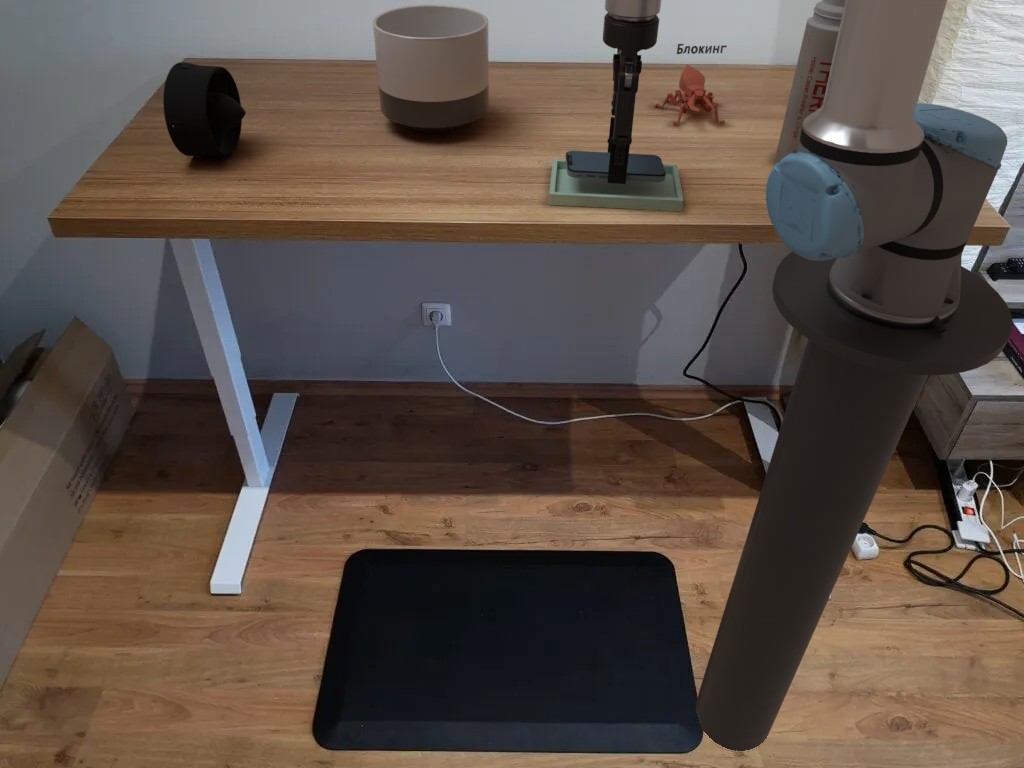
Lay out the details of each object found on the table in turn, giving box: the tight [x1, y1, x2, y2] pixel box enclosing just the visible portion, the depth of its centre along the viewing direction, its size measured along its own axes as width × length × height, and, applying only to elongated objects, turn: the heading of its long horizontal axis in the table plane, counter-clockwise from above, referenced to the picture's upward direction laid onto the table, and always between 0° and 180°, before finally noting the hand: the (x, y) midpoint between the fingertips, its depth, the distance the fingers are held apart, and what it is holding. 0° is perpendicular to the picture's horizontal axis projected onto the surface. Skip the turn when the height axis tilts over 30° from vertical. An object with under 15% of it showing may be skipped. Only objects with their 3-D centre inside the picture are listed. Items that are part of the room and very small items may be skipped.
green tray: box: [548, 158, 684, 212], centre depth 126 cm, size 13×20×2 cm, turn 85°
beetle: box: [654, 43, 728, 127], centre depth 146 cm, size 15×12×13 cm
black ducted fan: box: [162, 61, 247, 160], centre depth 130 cm, size 14×14×10 cm
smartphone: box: [564, 150, 666, 182], centre depth 124 cm, size 8×2×15 cm
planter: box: [372, 4, 490, 133], centre depth 140 cm, size 19×19×18 cm
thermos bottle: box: [774, 0, 846, 165], centre depth 125 cm, size 8×8×28 cm
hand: (616, 169), depth 124 cm, fingers closed on smartphone, 8 cm apart
